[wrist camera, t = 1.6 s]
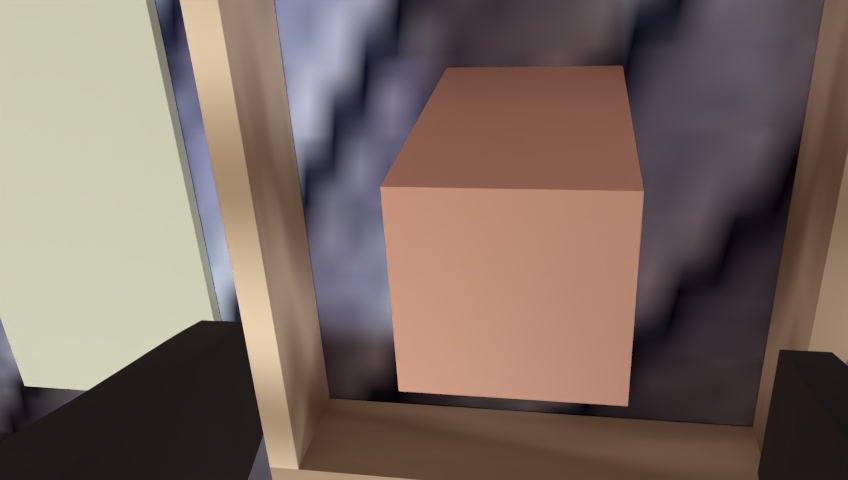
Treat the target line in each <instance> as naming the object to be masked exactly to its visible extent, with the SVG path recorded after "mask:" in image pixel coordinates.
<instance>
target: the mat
mask: <svg viewBox="0 0 848 480" xmlns="http://www.w3.org/2000/svg"><path fill="white" fill-rule="evenodd" d="M0 318H1V321H2V324H3V327H4V329H5V332H6V335H7V338H8V341H9V343H10V346H11V349H12V352H13V355H14V357H15V360H16V363H17V366H18V368H19V371H20V374H21V377H22V380H23V382H24V385H25V386H32V387H47V388H61V389H75V390H89V389H91V388H92V387H94V386H96V385H97V384H99V383H100V382H102V381H103V380H105V379H107V378H108V377H110V376H111V375H113V374H115V373H116V372H118V371H119V370H121V369H122V368H124V367H126V366H127V365H129V364H130V363H132V362H133V361H135V360H137V359H138V358H140V357H141V356H143V355H144V354H146V353H147V352H149V351H151V350H152V349H154V348H155V347H157V346H158V345H160V344H162V343H163V342H165V341H166V340H168V339H170V338H171V337H173V336H175V335H176V334H178V333H180V332H181V331H183V330H185V329H186V328H188V327H190V326H192V325H194V324H196V323H198V322H199V321H201V320H207V321H221V318H220V313H219V308H218V304H217V299H216V294H215V289H214V284H213V280H212V275H211V270H210V265H209V260H208V255H207V251H206V246H205V241H204V236H203V231H202V227H201V222H200V217H199V212H198V207H197V202H196V198H195V193H194V188H193V183H192V178H191V174H190V169H189V164H188V159H187V154H186V149H185V145H184V140H183V135H182V130H181V125H180V121H179V116H178V111H177V106H176V101H175V96H174V92H173V87H172V82H171V77H170V72H169V68H168V63H167V58H166V53H165V48H164V43H163V39H162V34H161V29H160V24H159V19H158V15H157V10H156V5H155V0H0Z"/></svg>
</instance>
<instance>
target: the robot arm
mask: <svg viewBox="0 0 848 480" xmlns="http://www.w3.org/2000/svg"><path fill="white" fill-rule="evenodd" d="M262 436H263V431H262V426H261V421H260V416H259V411H258V405H257V400H256V395H255V390H254V385H253V380H252V374H251V369H250V364H249V359H248V354H247V349H246V343H245V338H244V333H243V328H242V323H241V322H227V321H207V320H201V321H199V322H198V323H196V324H194V325H192V326H190V327H188V328H186V329H185V330H183V331H181V332H180V333H178V334H176V335H175V336H173V337H171V338H170V339H168V340H166V341H165V342H163V343H162V344H160V345H158V346H157V347H155V348H154V349H152V350H151V351H149V352H147V353H146V354H144V355H143V356H141V357H140V358H138V359H137V360H135V361H133V362H132V363H130V364H129V365H127V366H126V367H124V368H122V369H121V370H119V371H118V372H116V373H115V374H113V375H111V376H110V377H108V378H107V379H105V380H103V381H102V382H100V383H99V384H97V385H96V386H94V387H92V388H91V389H89V390H88V391H86V392H85V393H83V394H81V395H80V396H78V397H76V398H75V399H73V400H71V401H70V402H68V403H66V404H65V405H63V406H61V407H60V408H58V409H56V410H54V411H53V412H51V413H49V414H48V415H46V416H44V417H42V418H41V419H39V420H37V421H36V422H34V423H32V424H31V425H29V426H27V427H25V428H24V429H22V430H20V431H19V432H17V433H15V434H13V435H12V436H10V437H8V438H7V439H5V440H3V441H1V442H0V480H248V477H249V474H250V472H251V469H252V466H253V463H254V460H255V457H256V454H257V451H258V448H259V445H260V442H261V439H262ZM758 478H759V480H848V366H847V365H846V364H845V363H844V362H843V361H842V360H841V359H839V358H838V357H837V356H836V355H835V354H834V353H832V352H820V351H800V350H779V356H778V361H777V367H776V373H775V378H774V384H773V389H772V395H771V401H770V406H769V412H768V417H767V423H766V429H765V434H764V440H763V445H762V451H761V457H760V462H759V468H758Z"/></svg>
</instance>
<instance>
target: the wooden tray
mask: <svg viewBox="0 0 848 480" xmlns="http://www.w3.org/2000/svg"><path fill="white" fill-rule="evenodd" d="M180 4H181V9H182V14H183V19H184V24H185V29H186V35H187V40H188V45H189V50H190V55H191V60H192V66H193V71H194V76H195V81H196V86H197V91H198V97H199V102H200V107H201V112H202V117H203V123H204V128H205V133H206V138H207V143H208V148H209V154H210V159H211V164H212V169H213V174H214V179H215V185H216V190H217V195H218V200H219V205H220V210H221V216H222V221H223V226H224V231H225V236H226V241H227V247H228V252H229V257H230V262H231V267H232V273H233V278H234V283H235V288H236V293H237V298H238V304H239V309H240V314H241V319H242V324H243V329H244V335H245V340H246V345H247V350H248V355H249V360H250V366H251V371H252V376H253V381H254V386H255V391H256V397H257V402H258V407H259V412H260V417H261V423H262V428H263V433H264V438H265V443H266V448H267V454H268V459H269V464H270V469H271V474H272V479H273V480H759V478H758V468H759V462H760V457H761V451H762V445H763V440H764V434H765V429H766V423H767V417H768V412H769V406H770V401H771V395H772V389H773V384H774V378H775V373H776V367H777V361H778V356H779V350H800V351H820V352H832V353H834V354H835V355H836V356H837V357H838V358H839V359H841V360H842V361H843V362H844V363H845V364H846V363H847V358H848V0H825V2H824V8H823V14H822V19H821V25H820V31H819V37H818V43H817V49H816V55H815V61H814V67H813V73H812V79H811V85H810V91H809V96H808V102H807V108H806V114H805V120H804V126H803V132H802V138H801V144H800V150H799V156H798V162H797V168H796V174H795V179H794V185H793V191H792V197H791V203H790V209H789V215H788V221H787V227H786V233H785V239H784V245H783V251H782V256H781V262H780V268H779V274H778V280H777V286H776V292H775V298H774V304H773V310H772V316H771V322H770V328H769V333H768V339H767V345H766V351H765V357H764V363H763V369H762V375H761V381H760V387H759V393H758V399H757V405H756V411H755V416H754V422H753V427H743V426H729V425H714V424H699V423H684V422H670V421H655V420H640V419H625V418H611V417H596V416H581V415H566V414H552V413H537V412H522V411H507V410H493V409H478V408H463V407H448V406H434V405H419V404H404V403H389V402H374V401H360V400H345V399H330V397H329V390H328V382H327V375H326V368H325V361H324V354H323V347H322V340H321V333H320V326H319V318H318V311H317V304H316V297H315V290H314V283H313V276H312V269H311V262H310V254H309V247H308V240H307V233H306V226H305V219H304V212H303V205H302V198H301V190H300V183H299V176H298V169H297V162H296V155H295V148H294V141H293V134H292V126H291V119H290V112H289V105H288V98H287V91H286V84H285V77H284V70H283V62H282V55H281V48H280V41H279V34H278V27H277V20H276V13H275V6H274V0H180Z"/></svg>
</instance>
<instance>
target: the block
mask: <svg viewBox="0 0 848 480" xmlns="http://www.w3.org/2000/svg"><path fill="white" fill-rule="evenodd" d="M380 190H381V201H382V212H383V223H384V235H385V246H386V257H387V268H388V279H389V290H390V301H391V312H392V323H393V334H394V345H395V356H396V367H397V378H398V389H399V391H401V392H417V393H432V394H447V395H463V396H478V397H493V398H509V399H524V400H540V401H555V402H570V403H586V404H601V405H616V406H628V398H629V385H630V371H631V358H632V345H633V332H634V318H635V305H636V292H637V279H638V265H639V252H640V239H641V226H642V212H643V199H644V188H643V182H642V176H641V170H640V164H639V159H638V153H637V147H636V141H635V135H634V129H633V124H632V118H631V112H630V106H629V100H628V94H627V89H626V83H625V77H624V71H623V66H540V67H449V68H446V70H445V72H444V73H443V75H442V77H441V79H440V81H439V82H438V84H437V86H436V88H435V89H434V91H433V93H432V95H431V97H430V98H429V100H428V102H427V104H426V106H425V107H424V109H423V111H422V113H421V115H420V116H419V118H418V120H417V122H416V123H415V125H414V127H413V129H412V131H411V132H410V134H409V136H408V138H407V140H406V141H405V143H404V145H403V147H402V149H401V150H400V152H399V154H398V156H397V157H396V159H395V161H394V163H393V165H392V166H391V168H390V170H389V172H388V174H387V175H386V177H385V179H384V181H383V183H382V184H381V186H380Z"/></svg>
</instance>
